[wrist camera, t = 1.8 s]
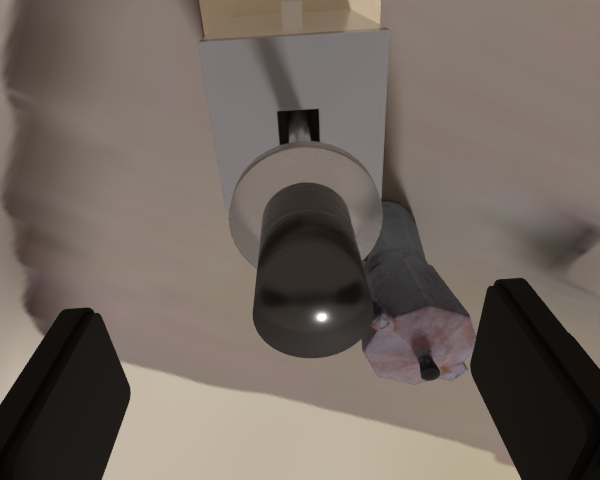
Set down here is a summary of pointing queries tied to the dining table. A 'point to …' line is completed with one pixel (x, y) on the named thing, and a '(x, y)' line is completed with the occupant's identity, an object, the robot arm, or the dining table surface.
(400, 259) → the moka pot
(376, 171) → the white box
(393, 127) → the dining table surface
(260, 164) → the plunger
